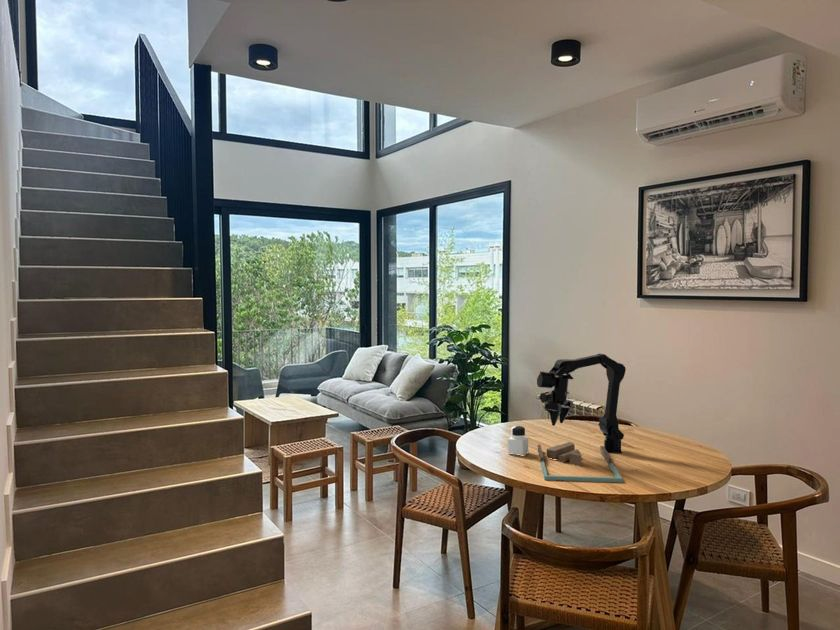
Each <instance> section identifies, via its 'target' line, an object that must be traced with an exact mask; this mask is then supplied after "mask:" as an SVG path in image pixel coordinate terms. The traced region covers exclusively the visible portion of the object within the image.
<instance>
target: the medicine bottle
mask: <svg viewBox="0 0 840 630" xmlns="http://www.w3.org/2000/svg"><path fill="white" fill-rule="evenodd" d="M527 452H528V453H529V436H526V428H525V427H524V426H520V425H515V426H512V427H511V428H510V437H509V438H507V454H508V453H513V454H520V455H524V454H525V453H527ZM528 453H527V454H528ZM524 456H525V455H524Z"/></svg>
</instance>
